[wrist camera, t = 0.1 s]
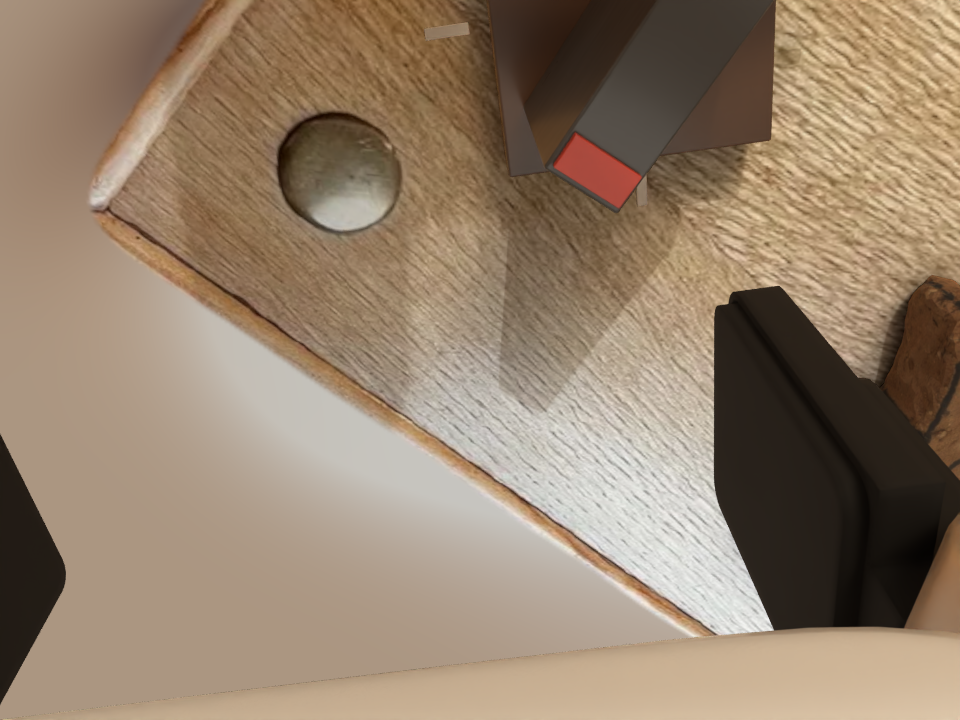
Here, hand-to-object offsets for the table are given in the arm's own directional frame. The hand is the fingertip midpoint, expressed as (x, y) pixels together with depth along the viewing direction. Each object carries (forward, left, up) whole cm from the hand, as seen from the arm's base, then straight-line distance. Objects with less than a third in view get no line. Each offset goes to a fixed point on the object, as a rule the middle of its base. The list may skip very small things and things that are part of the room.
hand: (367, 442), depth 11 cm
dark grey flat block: (-2, +7, -19) cm, 21 cm away
